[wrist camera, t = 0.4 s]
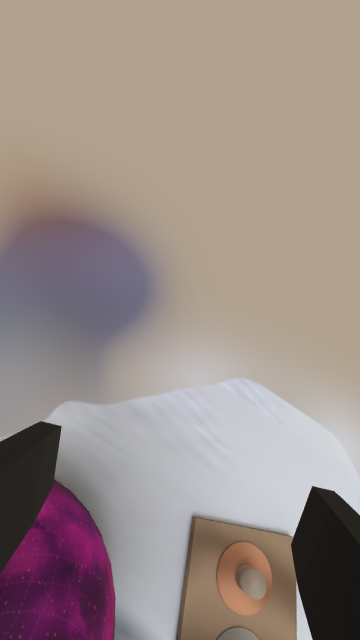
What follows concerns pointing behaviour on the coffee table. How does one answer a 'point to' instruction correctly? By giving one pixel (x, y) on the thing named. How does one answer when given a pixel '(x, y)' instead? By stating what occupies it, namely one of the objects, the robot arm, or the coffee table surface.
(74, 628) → the decorative sphere
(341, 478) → the coffee table surface
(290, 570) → the pin board
